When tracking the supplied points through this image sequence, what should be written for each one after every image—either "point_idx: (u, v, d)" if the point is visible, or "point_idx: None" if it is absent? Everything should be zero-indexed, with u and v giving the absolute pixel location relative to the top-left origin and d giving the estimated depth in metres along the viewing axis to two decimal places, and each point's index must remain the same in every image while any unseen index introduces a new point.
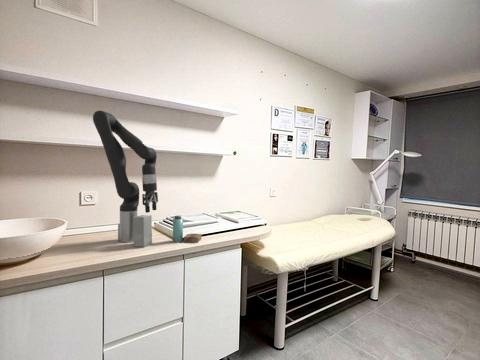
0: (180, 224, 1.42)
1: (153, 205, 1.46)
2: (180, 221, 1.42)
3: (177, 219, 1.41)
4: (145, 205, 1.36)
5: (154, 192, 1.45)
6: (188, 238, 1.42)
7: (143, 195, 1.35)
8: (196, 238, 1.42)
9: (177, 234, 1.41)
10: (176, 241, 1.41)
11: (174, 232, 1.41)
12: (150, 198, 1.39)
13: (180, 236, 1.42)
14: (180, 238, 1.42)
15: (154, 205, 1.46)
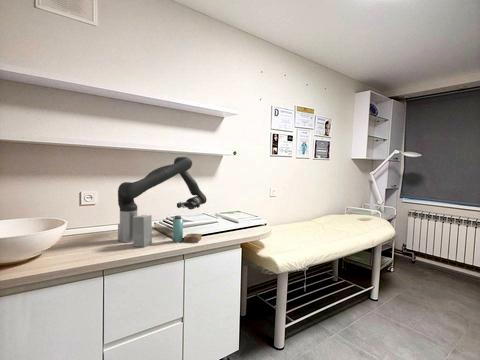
0: (180, 224, 1.42)
1: (180, 205, 1.58)
2: (180, 221, 1.42)
3: (177, 219, 1.41)
4: (195, 205, 1.59)
5: None
6: (188, 238, 1.42)
7: (199, 203, 1.64)
8: (196, 238, 1.42)
9: (177, 234, 1.41)
10: (176, 241, 1.41)
11: (174, 232, 1.41)
12: None
13: (180, 236, 1.42)
14: (180, 238, 1.42)
15: (180, 206, 1.58)
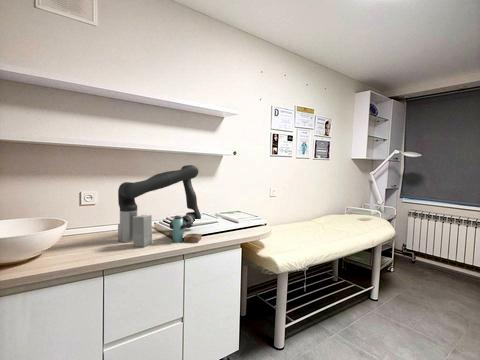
0: (180, 224, 1.42)
1: None
2: (180, 221, 1.42)
3: (177, 219, 1.41)
4: (186, 225, 1.45)
5: None
6: (188, 238, 1.42)
7: (192, 223, 1.50)
8: (196, 238, 1.42)
9: (177, 234, 1.41)
10: (176, 241, 1.41)
11: (174, 232, 1.41)
12: None
13: (180, 236, 1.42)
14: (180, 238, 1.42)
15: None
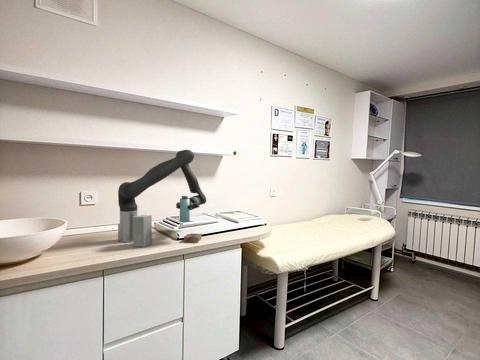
0: (187, 204, 1.43)
1: None
2: (187, 201, 1.43)
3: (184, 199, 1.42)
4: (193, 205, 1.46)
5: None
6: (188, 238, 1.42)
7: (199, 204, 1.51)
8: (196, 238, 1.42)
9: (184, 214, 1.42)
10: (183, 221, 1.42)
11: (181, 212, 1.42)
12: None
13: (187, 215, 1.43)
14: (187, 218, 1.43)
15: None
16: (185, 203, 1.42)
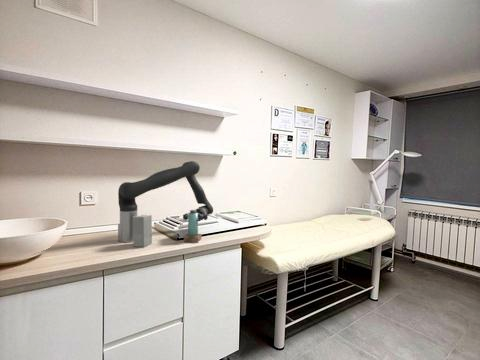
0: (195, 218, 1.44)
1: (187, 217, 1.47)
2: (195, 215, 1.44)
3: (192, 213, 1.44)
4: (203, 217, 1.47)
5: None
6: (188, 238, 1.42)
7: (207, 215, 1.53)
8: (196, 238, 1.42)
9: (193, 228, 1.43)
10: (191, 235, 1.44)
11: (189, 226, 1.44)
12: None
13: (195, 230, 1.44)
14: (195, 232, 1.44)
15: (187, 218, 1.47)
16: (194, 217, 1.43)
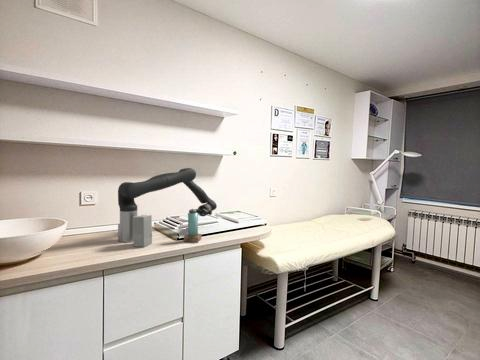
0: (195, 218, 1.44)
1: None
2: (195, 215, 1.44)
3: (192, 213, 1.44)
4: (208, 212, 1.60)
5: (197, 212, 1.67)
6: (188, 238, 1.42)
7: (211, 211, 1.66)
8: (196, 238, 1.42)
9: (193, 228, 1.43)
10: (191, 235, 1.44)
11: (189, 226, 1.44)
12: None
13: (195, 229, 1.44)
14: (195, 232, 1.44)
15: None
16: (193, 217, 1.43)
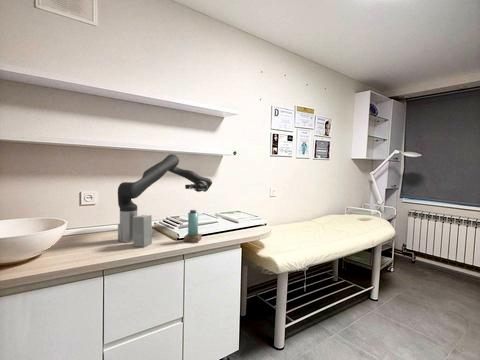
0: (195, 218, 1.44)
1: (188, 186, 1.63)
2: (195, 215, 1.44)
3: (192, 213, 1.44)
4: (203, 186, 1.63)
5: None
6: (188, 238, 1.42)
7: (207, 186, 1.69)
8: (196, 238, 1.42)
9: (193, 228, 1.44)
10: (191, 235, 1.44)
11: (189, 226, 1.44)
12: (201, 189, 1.67)
13: (195, 229, 1.44)
14: (195, 232, 1.44)
15: (188, 187, 1.63)
16: (193, 217, 1.44)
